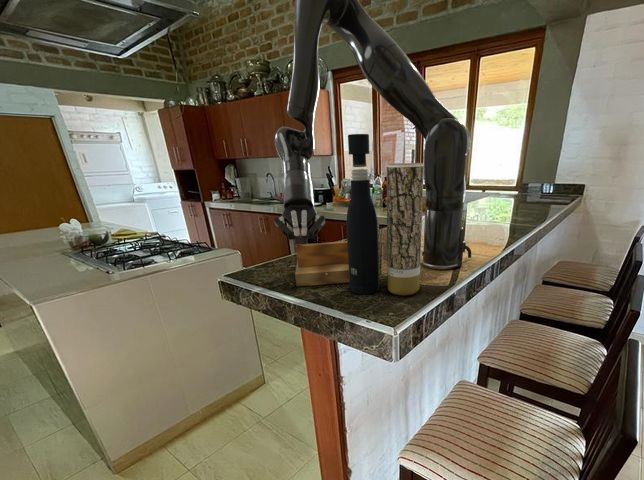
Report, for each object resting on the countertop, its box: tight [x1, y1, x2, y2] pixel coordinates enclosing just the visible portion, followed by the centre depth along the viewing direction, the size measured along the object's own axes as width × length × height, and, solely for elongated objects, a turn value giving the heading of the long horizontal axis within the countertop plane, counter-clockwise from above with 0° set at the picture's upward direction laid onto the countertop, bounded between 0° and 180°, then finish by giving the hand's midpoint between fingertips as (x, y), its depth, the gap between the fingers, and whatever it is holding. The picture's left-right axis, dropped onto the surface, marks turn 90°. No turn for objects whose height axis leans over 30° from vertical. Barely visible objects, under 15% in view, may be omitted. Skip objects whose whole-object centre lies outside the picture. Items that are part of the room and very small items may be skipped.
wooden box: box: [288, 260, 350, 287], centre depth 82 cm, size 17×17×3 cm
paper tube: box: [386, 162, 424, 297], centre depth 66 cm, size 7×7×25 cm
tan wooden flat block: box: [295, 240, 349, 267], centre depth 80 cm, size 13×2×5 cm, turn 102°
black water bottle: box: [345, 133, 380, 295], centre depth 67 cm, size 6×6×30 cm
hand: (302, 252), depth 80 cm, fingers closed
